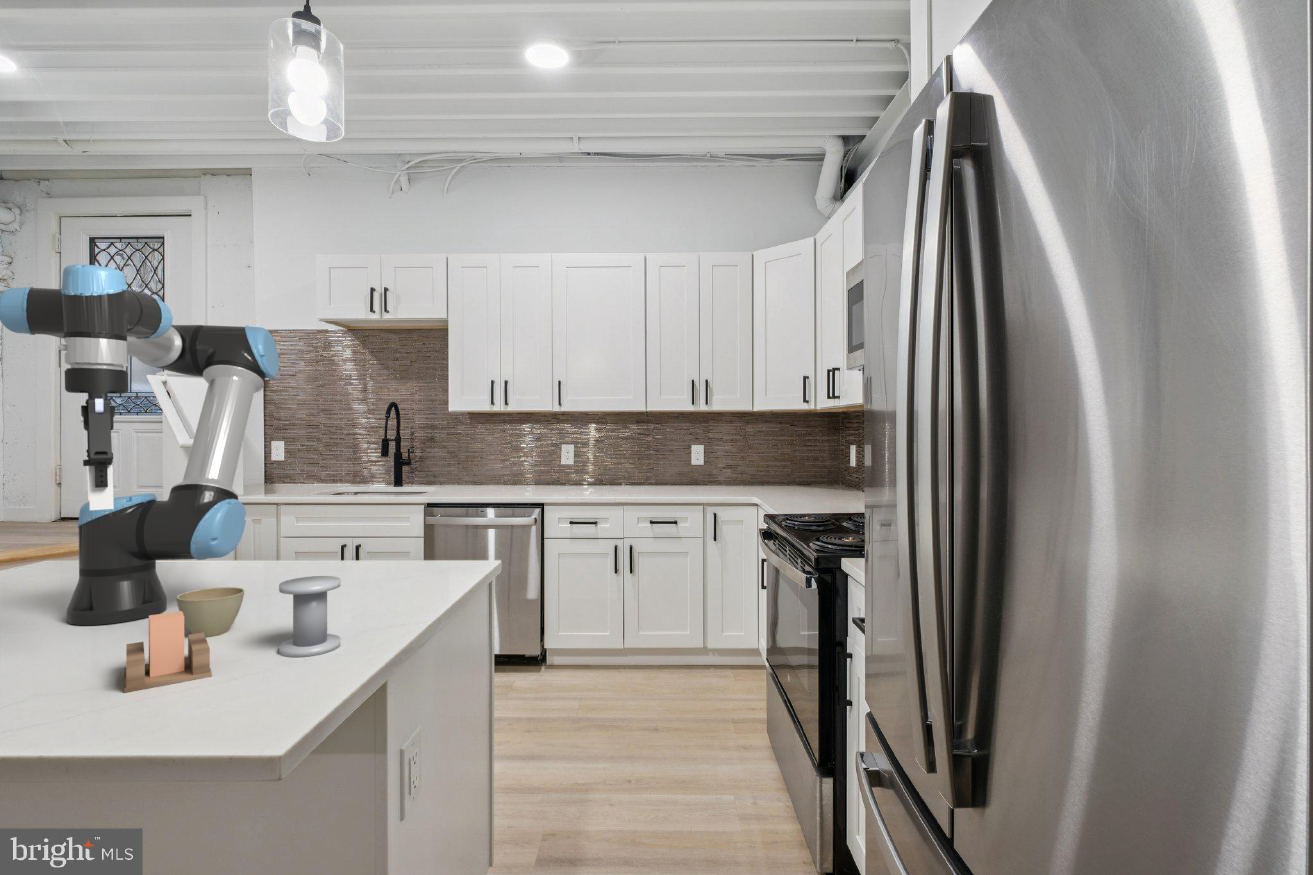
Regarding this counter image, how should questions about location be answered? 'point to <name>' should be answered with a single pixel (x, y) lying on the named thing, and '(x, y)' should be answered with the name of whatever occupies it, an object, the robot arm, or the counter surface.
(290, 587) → the bobbin
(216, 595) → the flower pot
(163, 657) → the peach rectangular block
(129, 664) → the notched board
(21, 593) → the counter surface
